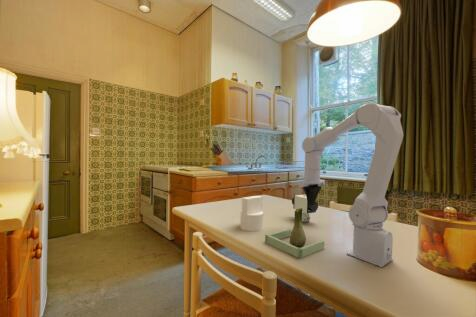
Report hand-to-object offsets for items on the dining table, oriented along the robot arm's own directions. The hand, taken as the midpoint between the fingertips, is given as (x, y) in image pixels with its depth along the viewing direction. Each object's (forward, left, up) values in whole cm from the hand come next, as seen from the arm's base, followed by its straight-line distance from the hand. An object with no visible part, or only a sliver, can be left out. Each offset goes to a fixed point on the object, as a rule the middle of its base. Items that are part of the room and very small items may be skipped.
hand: (311, 204), depth 85 cm
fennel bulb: (-6, +15, -11) cm, 19 cm away
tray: (-5, +16, -10) cm, 20 cm away
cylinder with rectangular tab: (+16, +16, -11) cm, 25 cm away
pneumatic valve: (+10, -10, -11) cm, 18 cm away
